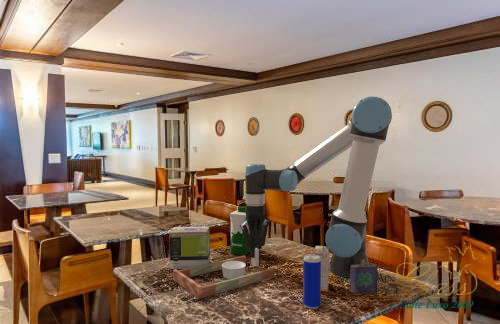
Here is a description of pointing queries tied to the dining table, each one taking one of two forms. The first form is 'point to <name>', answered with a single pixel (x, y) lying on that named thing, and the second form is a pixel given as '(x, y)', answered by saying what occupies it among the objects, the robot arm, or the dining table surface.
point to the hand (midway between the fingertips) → (255, 265)
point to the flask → (363, 278)
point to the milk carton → (238, 232)
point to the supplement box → (323, 265)
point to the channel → (218, 287)
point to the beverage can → (311, 281)
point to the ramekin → (233, 269)
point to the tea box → (189, 247)
